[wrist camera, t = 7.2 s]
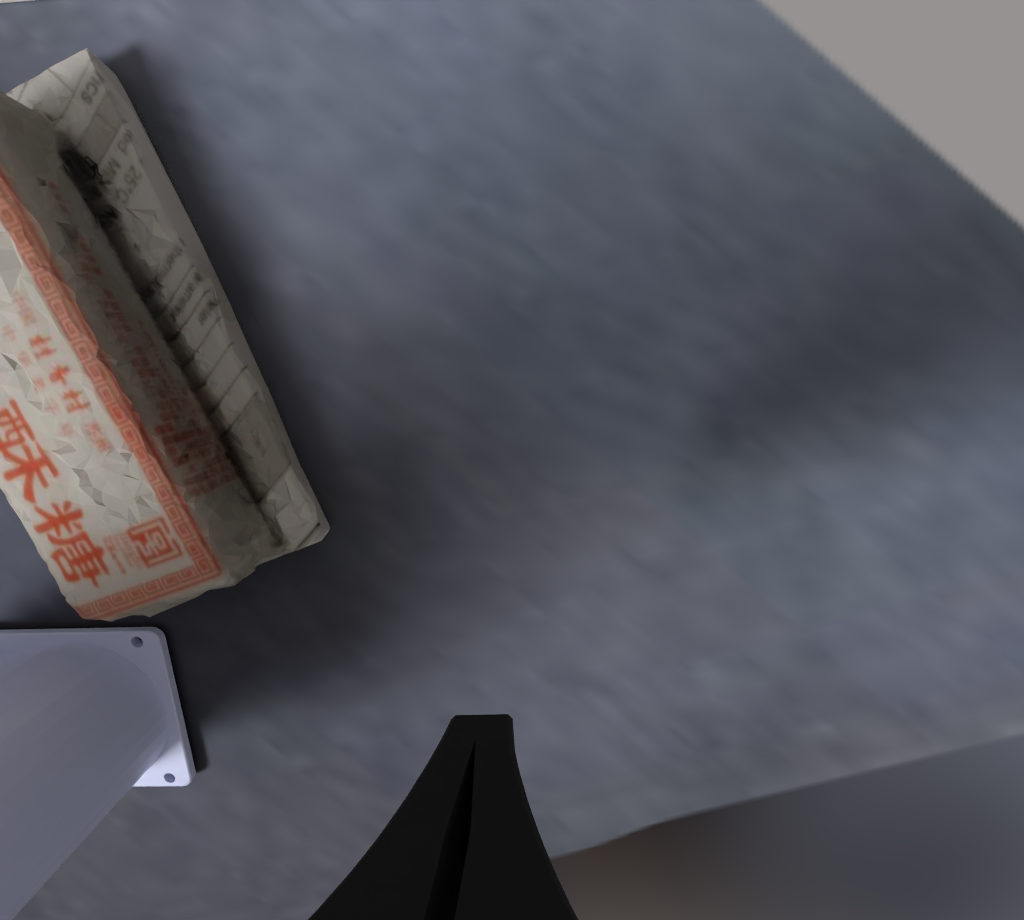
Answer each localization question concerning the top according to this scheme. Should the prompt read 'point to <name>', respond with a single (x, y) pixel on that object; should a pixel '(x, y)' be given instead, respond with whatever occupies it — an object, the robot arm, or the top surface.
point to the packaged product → (127, 367)
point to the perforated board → (7, 0)
